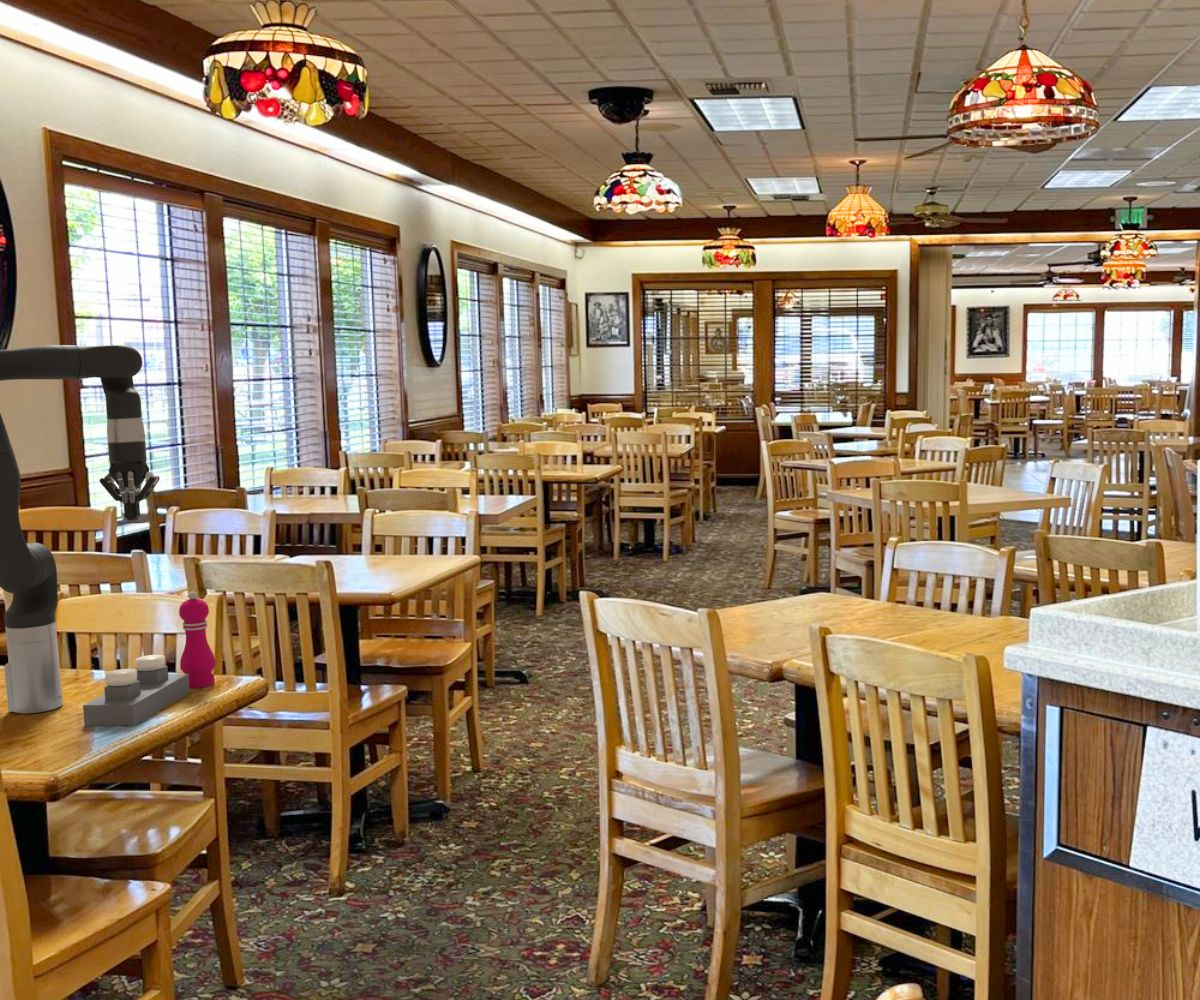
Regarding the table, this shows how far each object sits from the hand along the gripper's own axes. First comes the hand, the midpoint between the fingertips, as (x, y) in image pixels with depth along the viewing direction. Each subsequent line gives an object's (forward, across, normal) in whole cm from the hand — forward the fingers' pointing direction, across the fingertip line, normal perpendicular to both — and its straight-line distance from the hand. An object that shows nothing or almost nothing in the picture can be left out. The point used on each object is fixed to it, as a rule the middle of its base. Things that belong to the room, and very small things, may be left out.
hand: (132, 520), depth 274 cm
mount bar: (+35, +10, -23) cm, 43 cm away
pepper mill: (+35, +14, -4) cm, 38 cm away
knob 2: (+31, +10, -17) cm, 36 cm away
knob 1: (+31, +10, -29) cm, 43 cm away
